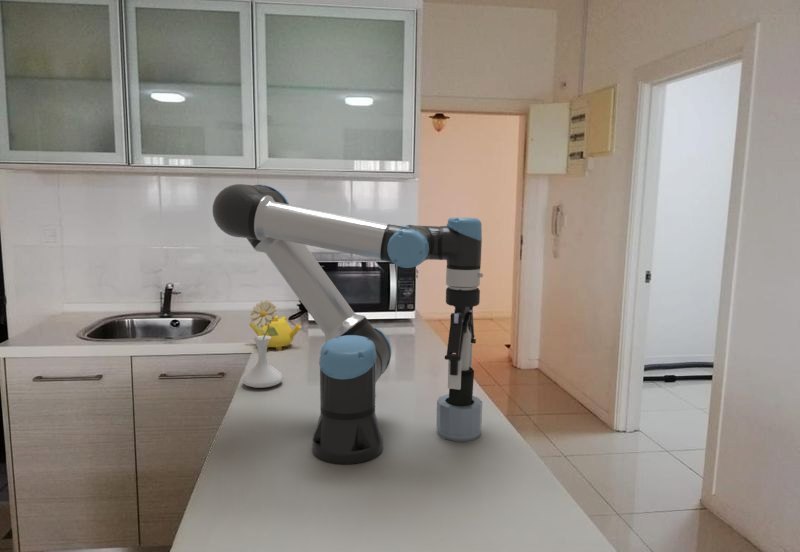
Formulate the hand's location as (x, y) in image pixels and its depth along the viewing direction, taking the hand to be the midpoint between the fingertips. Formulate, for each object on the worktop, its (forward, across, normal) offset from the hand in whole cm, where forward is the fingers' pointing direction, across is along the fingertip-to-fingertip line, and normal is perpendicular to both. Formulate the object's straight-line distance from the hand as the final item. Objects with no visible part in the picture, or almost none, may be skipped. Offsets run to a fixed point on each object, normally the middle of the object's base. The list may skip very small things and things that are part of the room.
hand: (460, 379), depth 128 cm
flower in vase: (+13, +14, +59) cm, 62 cm away
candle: (+11, 0, 0) cm, 11 cm away
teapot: (+13, +52, +77) cm, 94 cm away
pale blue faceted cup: (+13, 0, 0) cm, 13 cm away
